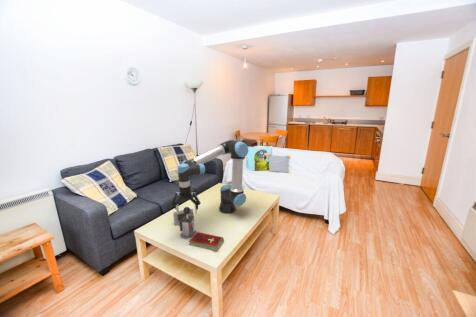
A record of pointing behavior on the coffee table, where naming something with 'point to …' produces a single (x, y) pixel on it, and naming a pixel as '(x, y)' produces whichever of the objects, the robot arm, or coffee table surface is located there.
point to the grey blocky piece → (187, 226)
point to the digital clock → (181, 216)
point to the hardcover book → (206, 241)
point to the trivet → (187, 237)
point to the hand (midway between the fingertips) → (187, 213)
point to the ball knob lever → (186, 211)
